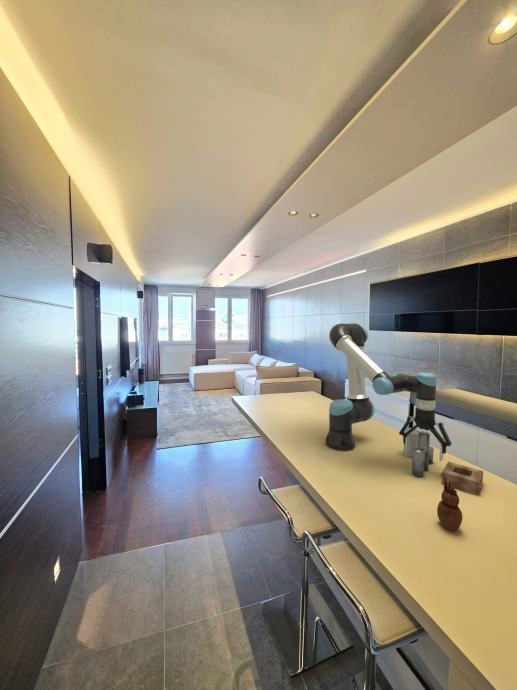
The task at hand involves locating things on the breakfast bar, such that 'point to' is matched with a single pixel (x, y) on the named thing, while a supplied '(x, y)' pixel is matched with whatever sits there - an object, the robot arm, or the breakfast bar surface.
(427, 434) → the long pin
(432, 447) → the short pin
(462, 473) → the hole block
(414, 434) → the cup
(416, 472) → the medium pin
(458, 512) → the wooden figurine
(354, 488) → the breakfast bar surface
